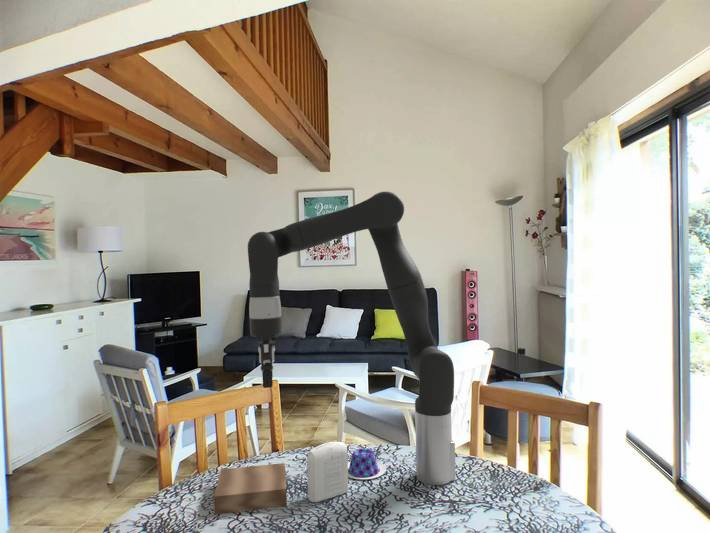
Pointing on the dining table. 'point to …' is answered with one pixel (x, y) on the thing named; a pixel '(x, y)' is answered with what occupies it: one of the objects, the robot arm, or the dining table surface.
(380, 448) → the dining table surface
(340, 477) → the photo printer
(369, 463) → the pudding
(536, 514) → the dining table surface
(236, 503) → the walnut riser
